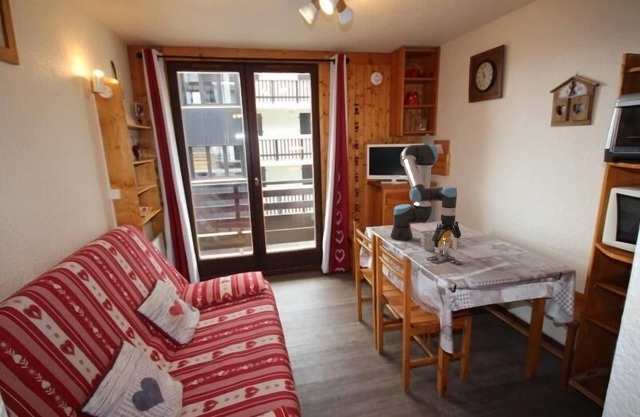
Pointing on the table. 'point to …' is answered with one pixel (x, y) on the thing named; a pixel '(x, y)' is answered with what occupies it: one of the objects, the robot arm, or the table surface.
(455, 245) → the robot arm
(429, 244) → the mug
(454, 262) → the grey latch plate
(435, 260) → the chain end
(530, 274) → the table surface
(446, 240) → the pin
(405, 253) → the table surface
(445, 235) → the bracket
